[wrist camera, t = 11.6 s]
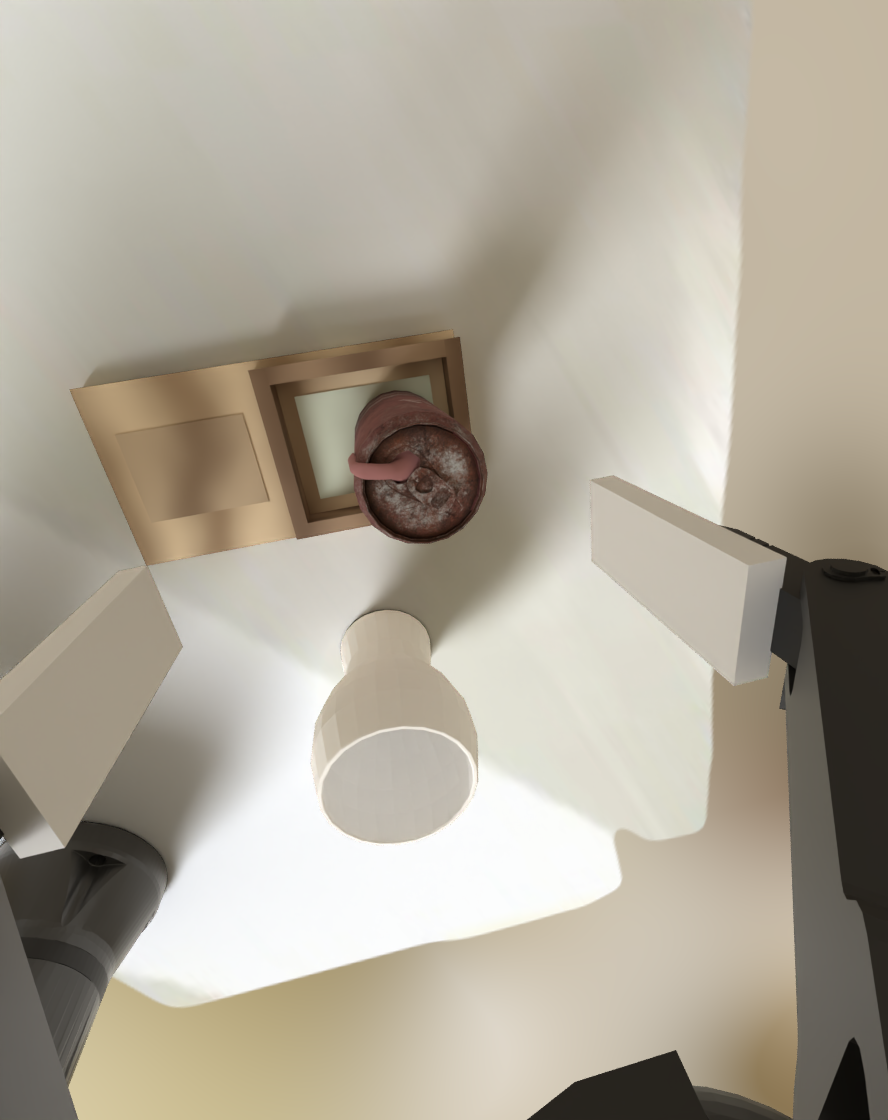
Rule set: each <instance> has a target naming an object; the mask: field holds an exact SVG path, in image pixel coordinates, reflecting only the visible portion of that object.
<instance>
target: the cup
mask: <svg viewBox="0 0 888 1120" xmlns="http://www.w3.org/2000/svg"><path fill="white" fill-rule="evenodd" d="M340 652H341V659H342V665H343V670H344V674H345V676H344V677H343V678H342V680H341V681H340V682H339V683H338V684H337V685H336V686H335V687H334V689H333V690H332V692H331V694H330V695H329V697H328V699H327V701H326V703H325V704H324V706H323V708H322V710H321V712H320V715H319V717H318V719H317V721H316V723H315V730H314V738H313V746H312V755H311V763H310V764H311V769H312V774H313V779H314V784H315V789H316V794H317V798H318V803H319V807H320V811H321V812H322V814H323V815H324V817H325V818H326V820H327V821H328V823H329V824H330V825H331V826H332V827H334V828H335V829H336V830H337V831H339V832H340V833H341V834H342V835H344V836H347V837H349V838H351V839H354V840H356V841H358V842H362V843H368V844H373V845H401V844H406V843H411V842H416V841H419V840H422V839H424V838H427V837H429V836H432V835H435V834H436V833H438V832H440V831H441V830H443V829H444V828H446V827H448V826H449V825H451V824H452V823H453V822H454V821H455V820H456V819H457V818H458V817H459V816H460V815H461V814H462V813H464V811H465V810H466V808H467V807H468V805H469V803H470V802H471V800H472V799H473V797H474V794H475V790H476V787H477V783H478V743H477V733H476V730H475V727H474V724H473V721H472V717H471V714H470V712H469V709H468V707H467V704H466V702H465V700H464V698H463V697H462V696H461V695H460V693H459V692H458V691H457V690H456V689H455V688H454V686H453V685H452V684H451V683H450V682H449V681H448V680H447V678H446V677H445V676H444V675H443V674H442V673H441V672H440V671H438V670H437V669H435V668H434V667H432V666H431V665H430V664H431V649H430V638H429V636H428V633H427V631H426V629H425V627H424V626H423V625H422V624H421V623H420V622H419V621H418V620H417V619H415V618H414V617H412V616H411V615H409V614H406V613H403V612H400V611H394V610H382V611H375V612H372V613H370V614H367V615H364V616H363V617H361V618H360V619H358V620H357V621H355V622H354V623H353V624H352V625H351V626H350V627H349V629H348V630H347V631H346V633H345V635H344V637H343V639H342V642H341V650H340Z"/></svg>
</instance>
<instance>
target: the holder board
mask: <svg viewBox="0 0 888 1120" xmlns="http://www.w3.org/2000/svg"><path fill="white" fill-rule="evenodd" d="M393 390H398V391H409V392H412V393H414V394H417V395H419V396H421V397H423V398H425V399H426V400H428V401H429V402H430V403H432V404H433V405H435V406H436V407H438V408H439V409H441V410H442V411H443V412H445V413H446V414H448V415H449V416H451V417H452V418H454V419H455V420H456V421H458V422H459V423H460V424H461V425H462V426H463V427H464V428H466V429H467V430H468V431H469V432H470V433H471V427H470V419H469V411H468V402H467V394H466V385H465V377H464V368H463V360H462V351H461V343H460V337H456V338H454V334H453V330H446V331H440V332H433V333H427V334H421V335H414V336H408V337H401V338H395V339H389V340H382V341H376V342H370V343H363V344H357V345H350V346H344V347H338V348H331V349H325V350H318V351H312V352H306V353H299V354H293V355H287V356H280V357H274V358H267V359H261V360H255V361H248V362H242V363H236V364H229V365H223V366H216V367H210V368H204V369H197V370H191V371H184V372H178V373H172V374H165V375H159V376H153V377H146V378H140V379H133V380H127V381H121V382H114V383H108V384H101V385H95V386H89V387H82V388H76V389H70V392H71V394H72V397H73V399H74V401H75V404H76V406H77V408H78V410H79V413H80V415H81V417H82V420H83V422H84V424H85V426H86V429H87V431H88V433H89V436H90V438H91V440H92V442H93V445H94V447H95V449H96V451H97V454H98V456H99V458H100V461H101V463H102V465H103V467H104V470H105V472H106V474H107V477H108V479H109V481H110V483H111V486H112V488H113V490H114V493H115V495H116V497H117V499H118V502H119V504H120V506H121V508H122V511H123V513H124V515H125V518H126V520H127V522H128V524H129V527H130V529H131V531H132V534H133V536H134V538H135V540H136V543H137V545H138V547H139V550H140V552H141V554H142V556H143V559H144V561H145V563H146V566H148V565H153V564H159V563H164V562H169V561H174V560H180V559H185V558H190V557H195V556H201V555H206V554H211V553H216V552H222V551H227V550H232V549H237V548H243V547H248V546H253V545H258V544H263V543H269V542H274V541H279V540H284V539H290V538H295V537H296V538H297V539H302V538H307V537H313V536H318V535H323V534H328V533H333V532H339V531H344V530H349V529H354V528H360V527H365V526H370V525H372V524H371V523H370V521H369V520H368V519H367V517H366V516H365V515H364V513H363V512H362V511H361V509H360V507H359V504H358V500H357V497H356V494H355V491H354V474H352V473H351V472H350V469H349V464H348V458H349V456H350V455H351V454H352V453H354V443H355V426H356V423H357V420H358V417H359V414H360V413H361V411H362V410H363V409H364V407H365V406H366V405H367V403H368V402H369V401H371V400H372V399H374V398H375V397H377V396H378V395H380V394H382V393H386V392H390V391H393Z"/></svg>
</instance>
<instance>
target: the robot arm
mask: <svg viewBox="0 0 888 1120" xmlns="http://www.w3.org/2000/svg"><path fill="white" fill-rule="evenodd" d="M590 510H591V556H592V562H593V563H594V564H596V565H597V566H598V567H599V568H600V569H601V570H602V571H604V572H605V573H606V574H607V575H608V576H609V577H610V578H611V579H613V580H614V581H615V582H616V583H617V584H618V585H619V586H621V587H622V588H623V589H624V590H625V591H626V592H627V593H629V594H630V595H631V596H632V597H633V598H634V599H635V600H637V601H638V602H639V603H640V604H641V605H642V606H643V607H645V608H646V609H647V610H648V611H649V612H650V613H651V614H653V615H654V616H655V617H656V618H657V619H658V620H659V621H661V622H662V623H663V624H664V625H665V626H666V627H667V628H668V629H670V630H671V631H672V632H673V633H674V634H675V635H676V636H678V637H679V638H680V639H681V640H682V641H683V642H684V643H686V644H687V645H688V646H689V647H690V648H691V649H692V650H694V651H695V652H696V653H697V654H698V655H699V656H700V657H702V658H703V659H704V660H705V661H706V662H707V663H708V664H710V665H711V666H712V667H713V668H714V669H715V670H716V671H718V672H719V673H720V674H721V675H722V676H723V677H724V678H725V679H727V680H728V681H729V682H730V683H731V684H732V685H734V686H735V685H739V684H743V683H747V682H751V681H756V680H760V679H764V678H768V673H769V667H770V660H771V654H772V653H774V654H775V655H777V656H778V657H780V658H781V659H782V660H784V661H785V662H787V669H786V674H785V679H784V686H783V691H782V697H781V702H780V709H784V710H786V729H787V754H788V755H787V756H788V783H789V810H790V834H791V835H790V836H791V860H792V861H791V863H792V889H793V912H794V913H793V915H794V942H795V967H796V968H795V969H796V995H797V1019H798V1020H797V1022H798V1051H797V1065H796V1075H795V1086H794V1103H793V1104H794V1105H793V1119H791V1118H790V1117H788V1116H786V1115H784V1114H782V1113H780V1112H778V1111H776V1110H775V1109H773V1108H771V1107H769V1106H766V1105H764V1104H761V1103H758V1102H755V1101H753V1100H751V1099H748V1098H745V1097H743V1096H740V1095H737V1094H733V1093H729V1092H725V1091H721V1090H717V1089H713V1088H708V1087H701V1086H692V1084H691V1082H690V1080H689V1077H688V1075H687V1073H686V1071H685V1069H684V1066H683V1064H682V1062H681V1060H680V1058H679V1056H678V1053H677V1051H676V1050H675V1051H672V1052H669V1053H666V1054H662V1055H659V1056H656V1057H653V1058H650V1059H646V1060H643V1061H640V1062H637V1063H634V1064H631V1065H628V1066H624V1067H622V1068H618V1069H615V1070H612V1071H609V1072H605V1073H602V1074H599V1075H596V1076H593V1077H589V1078H586V1079H583V1080H580V1081H577V1082H574V1083H573V1084H572V1085H570V1087H568V1088H567V1089H565V1090H564V1091H563V1092H562V1093H560V1094H559V1095H558V1096H557V1097H555V1098H554V1099H553V1100H551V1101H550V1102H549V1103H548V1104H546V1105H545V1106H544V1107H543V1108H541V1109H540V1110H539V1111H538V1112H536V1113H535V1114H534V1115H532V1116H531V1117H530V1118H529V1119H527V1120H888V571H886V570H884V569H882V568H880V567H878V566H875V565H872V564H868V563H864V562H861V561H854V560H847V559H823V560H816V561H813V562H811V563H809V562H807V561H805V560H803V559H801V558H799V557H797V556H794V555H792V554H790V553H788V552H785V551H784V550H781V549H779V548H777V547H775V546H773V545H772V546H769V544H768V543H766V542H764V541H762V540H760V539H755V537H753V536H751V535H748V534H747V533H744V532H742V531H740V530H737V529H733V528H729V527H725V526H720V525H717V524H715V523H713V522H711V521H709V520H707V519H704V518H702V517H700V516H698V515H696V514H694V513H692V512H690V511H687V510H685V509H683V508H681V507H679V506H677V505H675V504H673V503H671V502H668V501H666V500H664V499H662V498H660V497H658V496H656V495H654V494H652V493H649V492H647V491H645V490H643V489H641V488H639V487H637V486H635V485H632V484H630V483H628V482H626V481H624V480H622V479H620V478H618V477H616V476H608V477H603V478H598V479H593V480H590ZM182 647H183V646H182V644H181V641H180V639H179V637H178V635H177V632H176V630H175V628H174V625H173V623H172V621H171V619H170V616H169V614H168V612H167V609H166V607H165V605H164V603H163V600H162V598H161V596H160V593H159V591H158V589H157V587H156V584H155V582H154V580H153V577H152V575H151V573H150V571H149V568H148V566H142V567H136V568H131V569H126V570H121V571H118V572H117V573H116V574H115V575H114V576H113V577H112V578H111V579H110V580H108V581H107V582H106V583H105V584H104V585H103V586H102V587H101V588H100V589H99V590H98V591H97V592H95V593H94V594H93V595H92V596H91V597H90V598H89V599H88V600H87V601H86V602H85V603H84V604H82V605H81V606H80V607H79V608H78V609H77V610H76V611H75V612H74V613H73V614H72V615H71V616H69V617H68V618H67V619H66V620H65V621H64V622H63V623H62V624H61V625H60V626H59V627H58V628H56V629H55V630H54V631H53V632H52V633H51V634H50V635H49V636H48V637H47V638H46V639H45V640H43V641H42V642H41V643H40V644H39V645H38V646H37V647H36V648H35V649H34V650H33V651H32V652H30V653H29V654H28V655H27V656H26V657H25V658H24V659H23V660H22V661H21V662H20V663H18V664H17V665H16V666H15V667H14V668H13V669H12V670H11V671H10V672H9V673H8V674H7V675H5V676H4V677H3V678H2V679H1V680H0V839H1V838H2V836H3V837H4V838H5V840H6V842H5V843H4V844H3V845H2V846H1V847H0V1120H78V1117H77V1114H76V1111H75V1108H74V1105H73V1101H72V1098H71V1095H70V1092H69V1089H68V1086H69V1084H70V1081H71V1078H72V1076H73V1073H74V1071H75V1068H76V1065H77V1063H78V1060H79V1058H80V1055H81V1053H82V1050H83V1047H84V1045H85V1042H86V1040H87V1037H88V1034H89V1032H90V1029H91V1026H92V1024H93V1021H94V1019H95V1016H96V1014H97V1011H98V1008H99V1006H100V1003H101V1001H102V998H103V996H104V993H105V991H106V988H107V985H108V983H109V981H110V979H111V977H112V976H113V974H114V973H115V971H116V970H117V968H118V967H119V965H120V964H121V962H122V961H123V960H124V958H125V957H126V955H127V954H128V952H129V951H130V949H131V948H132V946H133V945H134V943H135V942H136V940H137V939H138V937H139V936H140V934H141V933H142V932H143V931H144V930H145V928H146V927H147V926H148V925H149V923H150V922H151V921H152V919H153V918H154V916H155V914H156V912H157V910H158V908H159V905H160V902H161V899H162V897H163V894H164V891H165V888H166V885H167V870H166V866H165V864H164V862H163V860H162V858H161V857H160V855H159V854H158V853H157V851H156V850H155V849H154V848H153V847H151V846H150V845H149V844H148V843H147V842H145V841H144V840H142V839H141V838H139V837H137V836H135V835H133V834H131V833H129V832H127V831H124V830H121V829H118V828H115V827H111V826H107V825H102V824H97V823H88V822H80V821H81V820H82V818H83V816H84V814H85V813H86V811H87V809H88V808H89V806H90V804H91V803H92V801H93V799H94V797H95V796H96V794H97V792H98V791H99V789H100V787H101V785H102V784H103V782H104V780H105V779H106V777H107V775H108V774H109V772H110V770H111V768H112V767H113V765H114V763H115V762H116V760H117V758H118V756H119V755H120V753H121V751H122V750H123V748H124V746H125V745H126V743H127V741H128V739H129V738H130V736H131V734H132V733H133V731H134V729H135V727H136V726H137V724H138V722H139V721H140V719H141V717H142V716H143V714H144V712H145V710H146V709H147V707H148V705H149V704H150V702H151V700H152V698H153V697H154V695H155V693H156V692H157V690H158V688H159V686H160V685H161V683H162V681H163V680H164V678H165V676H166V675H167V673H168V671H169V669H170V668H171V666H172V664H173V663H174V661H175V659H176V657H177V656H178V654H179V652H180V651H181V649H182Z"/></svg>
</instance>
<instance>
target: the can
mask: <svg viewBox="0 0 888 1120" xmlns="http://www.w3.org/2000/svg"><path fill="white" fill-rule="evenodd" d="M348 464H349V469H350V472H351V473H352V474H354V491H355V494H356V497H357V500H358V504H359V507H360V509H361V511H362V512H363V513H364V515H365V516H366V517H367V519H368V520H369V521H370V523H371V524H372V525H373V526H374V527H375V528H377V529H378V530H380V531H381V532H382V533H384V534H385V535H387V536H388V537H390V538H393V539H396V540H399V541H402V542H406V543H424V544H428V543H433V542H436V541H440V540H443V539H447V538H449V537H450V536H452V535H453V534H455V533H457V532H458V531H460V530H461V529H463V528H464V527H465V525H466V524H467V523H468V522H469V521H470V520H471V518H472V517H473V516H474V515H475V514H476V513H477V511H478V509H479V506H480V504H481V502H482V500H483V497H484V495H485V491H486V482H487V469H486V464H485V459H484V454H483V452H482V450H481V448H480V446H479V445H478V443H477V441H476V439H475V438H474V436H473V435H472V434H471V433H470V432H469V431H468V430H467V429H466V428H464V427H463V426H462V425H461V424H460V423H459V422H458V421H456V420H455V419H454V418H452V417H451V416H449V415H448V414H446V413H445V412H443V411H442V410H441V409H439V408H438V407H436V406H435V405H433V404H432V403H430V402H429V401H428V400H426V399H425V398H423V397H421V396H419V395H417V394H414V393H412V392H409V391H398V390H393V391H390V392H386V393H382V394H380V395H378V396H377V397H375V398H374V399H372V400H371V401H369V402H368V403H367V405H366V406H365V407H364V409H363V410H362V411H361V413H360V414H359V417H358V420H357V423H356V426H355V443H354V453H352V454H351V455H350V456H349V458H348Z"/></svg>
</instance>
